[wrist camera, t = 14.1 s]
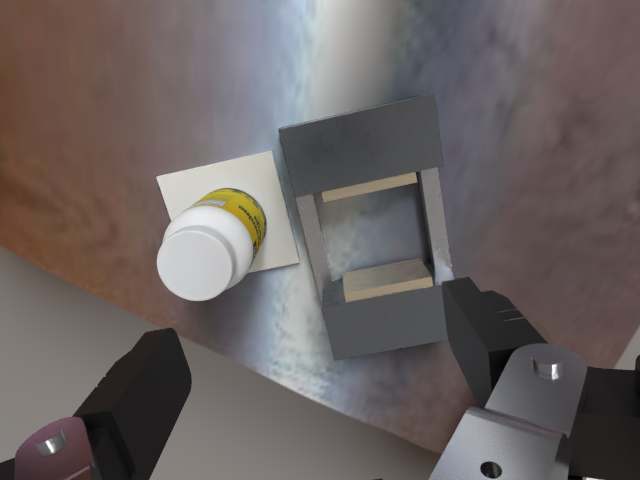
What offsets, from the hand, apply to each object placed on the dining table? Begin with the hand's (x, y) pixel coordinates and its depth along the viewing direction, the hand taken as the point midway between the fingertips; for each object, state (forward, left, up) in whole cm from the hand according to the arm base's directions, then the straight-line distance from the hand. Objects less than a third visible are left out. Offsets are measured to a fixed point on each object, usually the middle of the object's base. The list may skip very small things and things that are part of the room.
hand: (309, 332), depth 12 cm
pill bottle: (+1, -8, -24) cm, 25 cm away
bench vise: (+4, +4, -25) cm, 25 cm away
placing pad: (+1, -8, -24) cm, 26 cm away
